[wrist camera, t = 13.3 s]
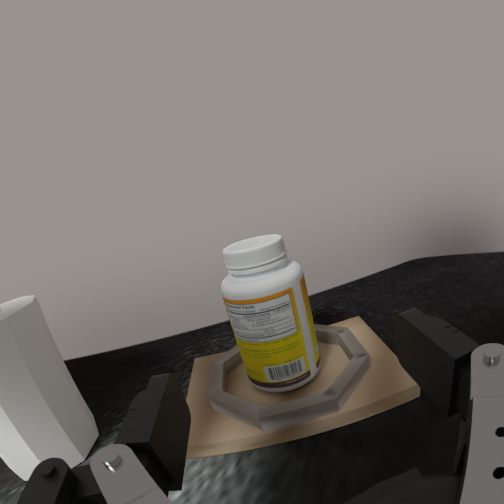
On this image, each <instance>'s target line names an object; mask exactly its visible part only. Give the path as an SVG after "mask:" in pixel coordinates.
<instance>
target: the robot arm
mask: <svg viewBox="0 0 504 504" xmlns="http://www.w3.org/2000/svg"><path fill="white" fill-rule="evenodd" d="M395 330H396V351H397V357H398V360H399V363H400V365H401V366H402V368H403V369H404V370H405V371H406V372H407V373H408V374H409V375H410V377H411V378H412V379H413V380H414V381H415V382H416V383H417V384H418V386H419V387H420V388H421V389H422V390H423V391H424V392H425V393H426V395H427V396H428V397H429V398H430V399H431V400H432V401H433V403H434V404H435V405H436V406H437V407H438V408H439V410H440V411H441V412H442V413H443V414H444V415H445V416H446V418H448V417H450V416H452V415H454V414H455V413H457V412H459V413H460V414H461V419H460V426H459V434H458V441H457V447H456V454H455V459H454V464H453V469H452V473H435V474H428V475H423V476H422V475H421V474H420V472H419V470H418V469H417V467H415V468H412V469H410V470H408V471H406V472H403V473H401V474H399V475H396V476H394V477H392V478H389V479H387V480H384V481H382V482H379V483H377V484H375V485H374V486H372V487H371V488H369V489H367V490H366V491H364V492H362V493H360V494H359V495H357V496H355V497H353V498H352V499H350V500H348V501H346V502H344V503H342V504H504V345H501V344H497V343H489V344H484V345H479V344H478V343H476V342H475V341H474V340H472V339H471V338H469V337H468V336H466V335H465V334H464V333H462V332H461V331H458V329H456V328H455V327H453V326H451V324H449V323H448V322H446V321H445V320H443V319H441V318H437V317H433V316H429V317H428V316H427V315H425V314H424V313H422V312H421V311H420V310H418V309H417V308H413V309H410V310H408V311H405V312H402V313H399V314H397V315H396V317H395ZM128 410H129V411H127V414H126V416H125V419H124V421H123V423H122V426H121V428H120V431H119V433H118V435H117V438H116V440H115V443H114V444H113V445H109V446H106V447H104V448H102V449H101V450H99V451H98V452H97V453H96V454H95V455H94V456H93V458H92V460H91V463H90V465H86V466H81V467H76V468H70V467H69V466H68V464H67V463H66V462H65V461H64V460H63V459H61V458H56V457H55V458H49V459H46V460H44V461H42V462H41V463H39V464H38V465H37V466H36V467H35V469H34V470H33V472H32V474H31V476H30V478H29V480H28V482H27V484H26V486H25V488H24V490H23V492H22V494H21V496H20V498H19V500H18V503H17V504H172V502H171V501H170V500H169V499H168V493H169V491H177V490H182V482H183V475H184V468H185V460H186V453H187V447H188V440H189V433H190V426H191V414H190V410H189V407H188V404H187V402H186V400H185V398H184V395H183V393H182V391H181V389H180V386H179V384H178V382H177V379H176V377H175V376H174V374H173V373H167V374H161V375H155V376H152V377H151V378H150V380H149V383H148V385H147V388H146V390H145V391H141V392H140V393H139V394H138V395H137V396H136V397H135V398H134V399H133V400H132V402H131V404H130V407H129V409H128Z"/></svg>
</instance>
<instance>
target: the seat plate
mask: <svg viewBox="0 0 504 504" xmlns="http://www.w3.org/2000/svg"><path fill="white" fill-rule="evenodd" d="M314 328H315V333H316V338H317V343H318V348H319V354H320V360H321V364H320V368H319V371H318V373H317V374H316V375H315V377H314V378H313V379H312V380H311V381H309V382H308V383H306V384H305V385H303V386H301V387H299V388H297V389H294V390H291V391H286V392H267V391H263V390H260V389H258V388H257V387H255V386H254V385H253V384H252V383H251V382H250V380H249V378H248V376H247V373H246V369H245V366H244V363H243V360H242V357H241V354H240V351H239V348H238V345H236V346H235V347H233V348H232V349H230V350H229V351H227V352H223V353H218V354H214V355H209V356H204V357H199V358H195V360H194V365H193V369H192V374H191V379H190V384H189V389H188V393H187V398H186V402H187V404H188V407H189V410H190V414H191V426H190V433H189V440H188V447H187V453H186V459H189V458H198V457H207V456H214V455H221V454H228V453H234V452H240V451H246V450H251V449H256V448H261V447H266V446H271V445H275V444H280V443H284V442H288V441H292V440H296V439H300V438H304V437H308V436H312V435H315V434H319V433H322V432H325V431H329V430H332V429H335V428H339V427H342V426H345V425H348V424H351V423H354V422H357V421H360V420H362V419H365V418H368V417H371V416H373V415H376V414H379V413H381V412H384V411H386V410H389V409H391V408H394V407H396V406H399V405H401V404H404V403H406V402H408V401H411V400H413V399H415V398H417V397H420V387H419V386H418V384H417V383H416V382H415V381H414V380H413V379H412V378H411V377H410V375H409V374H408V373H407V372H406V371H405V370H404V369H403V368H402V366H401V365H400V363H399V360H398V358H397V357H396V355H395V354H394V353H393V352H392V351H391V350H390V349H389V348H388V347H387V346H386V345H385V344H384V343H383V341H382V340H381V339H380V338H379V337H378V336H377V335H376V334H375V333H374V332H373V331H372V330H371V329H370V328H369V326H368V325H367V324H366V323H365V322H364V321H363V320H362V319H361V318H360V317H359V316H357V317H354V318H351V319H348V320H344V321H341V322H338V323H334V324H331V325H318V324H314Z"/></svg>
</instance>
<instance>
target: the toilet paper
mask: <svg viewBox="0 0 504 504" xmlns="http://www.w3.org/2000/svg"><path fill="white" fill-rule="evenodd" d="M98 436H99V432H98V429H97V426H96V423H95V420H94V416H93V414H92V413H91V411H90V409H89V408H88V406H87V404H86V403H85V401H84V399H83V397H82V395H81V394H80V392H79V390H78V388H77V386H76V385H75V383H74V381H73V379H72V377H71V375H70V373H69V371H68V369H67V367H66V365H65V363H64V361H63V359H62V357H61V355H60V353H59V351H58V348H57V346H56V344H55V342H54V340H53V337H52V335H51V333H50V331H49V328H48V325H47V324H46V321H45V319H44V316H43V313H42V311H41V308H40V305H39V303H38V300H37V297H36V295H31V296H24V297H19V298H16V299H13V300H10V301H7V302H5V303H2V304H0V457H1V458H2V459H3V460H4V462H5V463H6V464H7V465H8V467H9V468H10V469H12V470H13V471H14V472H15V473H16V474H17V475H18V476H20V477H21V478H22V479H23V480H24V481H28V480H29V478H30V476H31V474H32V472H33V470H34V469H35V467H36V466H37V465H38V464H39V463H41V462H42V461H44V460H46V459H49V458H55V457H56V458H61V459H63V460H64V461H65V462H66V463H67V464H68V466H69V467H70V468H73V467H75V466H76V465H78V464H79V463H81V462H83V461H84V460H85V459H86V457H87V455H88V453H89V452H90V450H91V448H92V446H93V444H94V443H95V441H96V439H97V437H98Z"/></svg>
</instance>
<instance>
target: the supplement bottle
mask: <svg viewBox="0 0 504 504" xmlns="http://www.w3.org/2000/svg"><path fill="white" fill-rule="evenodd" d="M286 252H287V251H286V249H285V246H284V242H283V238H282V236H281V235H277V234H271V235H263V236H258V237H253V238H249V239H245V240H242V241H239V242H236V243H233V244H231V245H229V246H227V247H226V248H224V249H223V256H224V260H225V267H226V268H227V271H228V273H229V275H228V276H226V277H225V279H224V280H223V281H222V283H221V292H222V296H223V300H224V303H225V306H226V309H227V313H228V316H229V319H230V322H231V326H232V329H233V332H234V335H235V338H236V342H237V345H238V348H239V351H240V354H241V357H242V360H243V363H244V366H245V369H246V373H247V376H248V378H249V380H250V382H251V383H252V384H253V385H254V386H255V387H257V388H258V389H260V390H263V391H267V392H286V391H291V390H294V389H297V388H299V387H301V386H303V385H305V384H306V383H308V382H309V381H311V380H312V379H313V378H314V377H315V375H316V374H317V373H318V371H319V368H320V364H321V360H320V354H319V348H318V343H317V338H316V333H315V328H314V323H313V318H312V313H311V308H310V303H309V298H308V293H307V288H306V284H305V279H304V274H303V271H302V268H301V266H300V265H299V264H298V263H297V262H295V261H293V260H289V259H287V254H286Z"/></svg>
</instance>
